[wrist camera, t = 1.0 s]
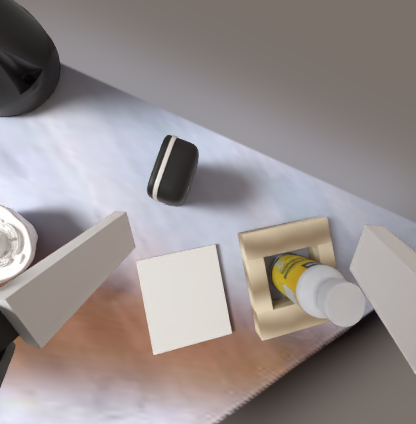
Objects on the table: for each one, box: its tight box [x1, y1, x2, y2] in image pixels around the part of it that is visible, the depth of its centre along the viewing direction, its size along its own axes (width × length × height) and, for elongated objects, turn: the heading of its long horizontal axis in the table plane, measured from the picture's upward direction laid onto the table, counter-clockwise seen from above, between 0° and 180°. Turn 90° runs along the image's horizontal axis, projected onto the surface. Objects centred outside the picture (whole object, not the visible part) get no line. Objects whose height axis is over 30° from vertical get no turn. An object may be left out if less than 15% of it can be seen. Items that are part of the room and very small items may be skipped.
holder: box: [238, 217, 337, 341], centre depth 30 cm, size 16×14×2 cm
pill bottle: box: [270, 253, 365, 327], centre depth 25 cm, size 6×6×12 cm
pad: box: [136, 244, 232, 355], centre depth 29 cm, size 14×12×1 cm
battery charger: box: [147, 135, 199, 206], centre depth 24 cm, size 7×4×11 cm, turn 162°
